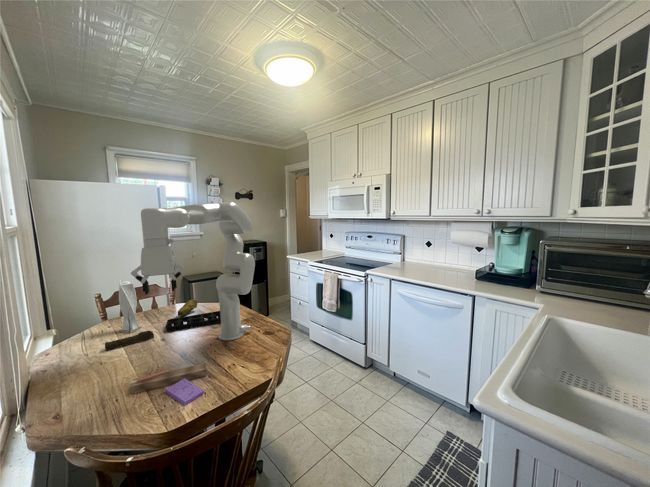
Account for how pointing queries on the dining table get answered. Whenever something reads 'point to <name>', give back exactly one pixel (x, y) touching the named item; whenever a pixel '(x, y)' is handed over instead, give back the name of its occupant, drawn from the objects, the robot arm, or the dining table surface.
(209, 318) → the black openwork frame
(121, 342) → the hand tool
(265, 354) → the dining table surface
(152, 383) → the walnut board
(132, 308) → the skyscraper
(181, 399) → the sponges
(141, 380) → the carpenters pencil
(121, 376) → the dining table surface
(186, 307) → the potato
